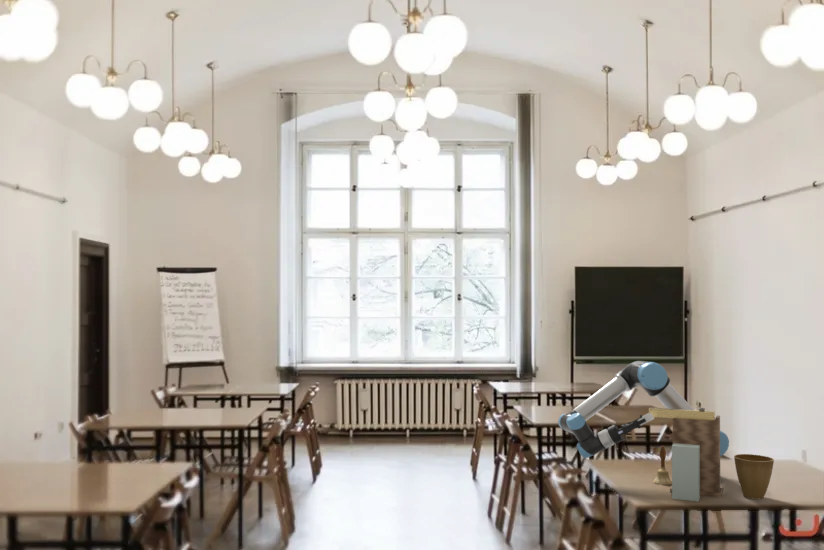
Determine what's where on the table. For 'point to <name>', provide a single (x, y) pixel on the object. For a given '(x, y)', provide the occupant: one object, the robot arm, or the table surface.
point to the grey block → (686, 472)
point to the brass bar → (683, 413)
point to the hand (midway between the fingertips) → (655, 413)
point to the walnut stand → (702, 450)
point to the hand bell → (662, 470)
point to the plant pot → (753, 474)
